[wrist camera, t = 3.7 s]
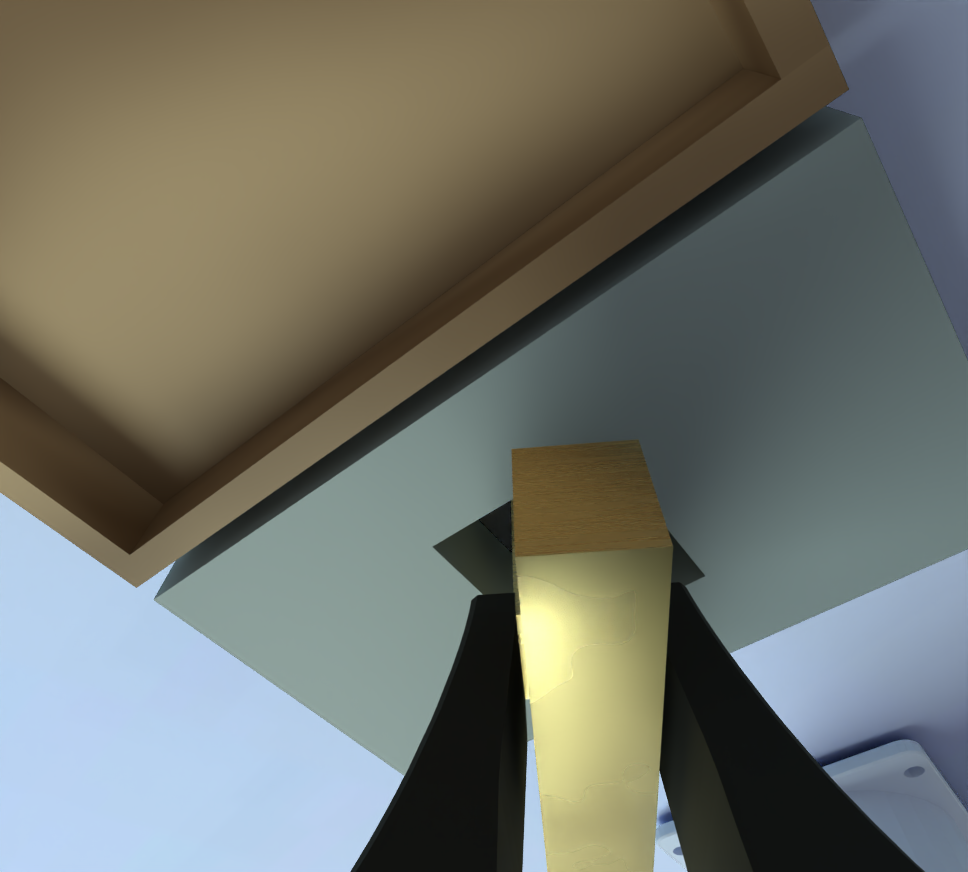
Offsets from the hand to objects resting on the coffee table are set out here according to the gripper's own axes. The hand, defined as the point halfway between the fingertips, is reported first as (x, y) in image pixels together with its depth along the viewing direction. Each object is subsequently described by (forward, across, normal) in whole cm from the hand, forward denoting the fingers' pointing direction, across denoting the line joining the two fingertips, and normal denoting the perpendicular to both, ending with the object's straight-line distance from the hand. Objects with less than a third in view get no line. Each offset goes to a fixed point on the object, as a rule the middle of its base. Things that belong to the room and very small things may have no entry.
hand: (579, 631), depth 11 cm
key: (+3, 0, 0) cm, 3 cm away
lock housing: (+4, 0, 0) cm, 4 cm away
